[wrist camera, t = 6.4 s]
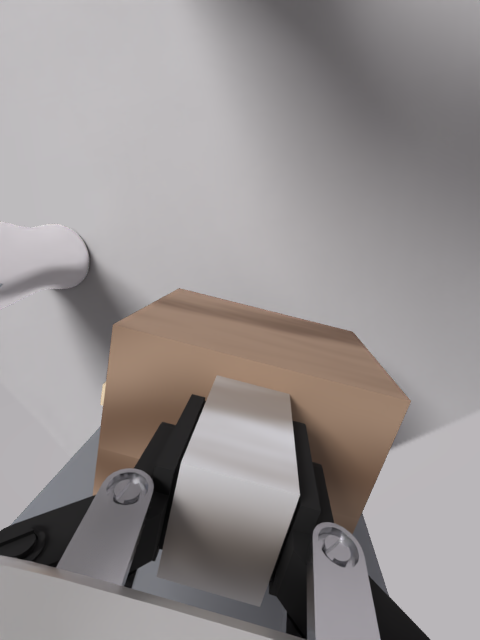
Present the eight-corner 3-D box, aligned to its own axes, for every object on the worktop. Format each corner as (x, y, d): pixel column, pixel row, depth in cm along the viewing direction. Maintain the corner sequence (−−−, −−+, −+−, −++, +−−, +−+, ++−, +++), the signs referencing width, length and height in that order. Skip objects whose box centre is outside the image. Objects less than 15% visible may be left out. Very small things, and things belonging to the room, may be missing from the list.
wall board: (161, 333, 30) (-90, 551, 9) (340, 379, 30) (503, 727, 9) (153, 382, 32) (-80, 665, 11) (323, 427, 31) (426, 822, 10)
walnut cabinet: (179, 288, 21) (9, 380, 7) (352, 331, 20) (505, 513, 7) (158, 406, 24) (4, 633, 10) (311, 447, 23) (365, 742, 10)
